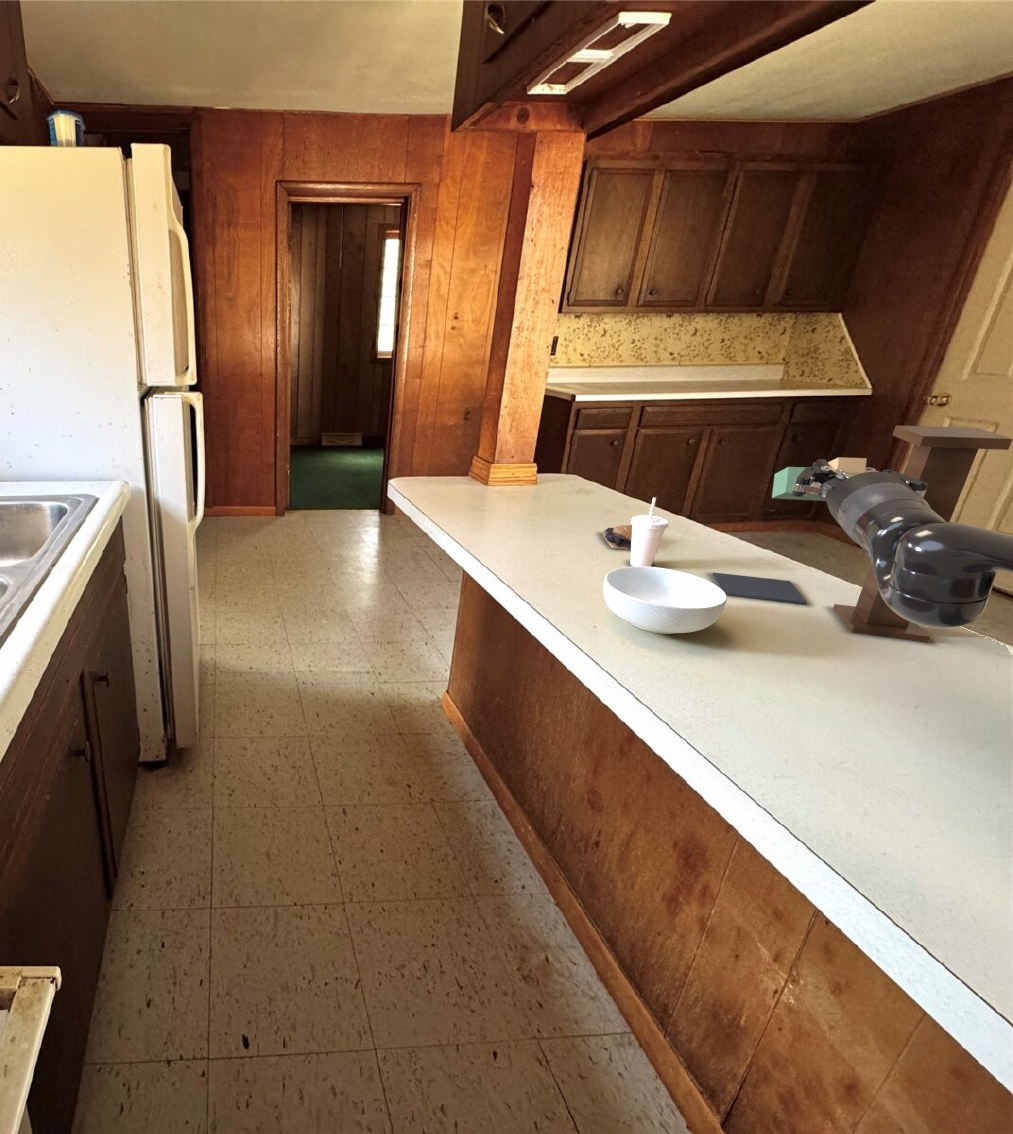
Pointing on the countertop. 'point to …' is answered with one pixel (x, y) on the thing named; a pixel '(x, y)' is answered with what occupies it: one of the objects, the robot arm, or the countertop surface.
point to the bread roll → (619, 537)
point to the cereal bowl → (663, 599)
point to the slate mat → (758, 588)
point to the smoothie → (646, 537)
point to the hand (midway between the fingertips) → (835, 466)
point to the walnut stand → (945, 469)
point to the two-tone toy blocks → (788, 476)
